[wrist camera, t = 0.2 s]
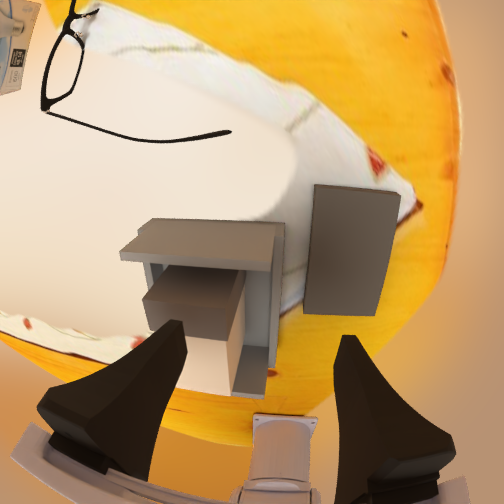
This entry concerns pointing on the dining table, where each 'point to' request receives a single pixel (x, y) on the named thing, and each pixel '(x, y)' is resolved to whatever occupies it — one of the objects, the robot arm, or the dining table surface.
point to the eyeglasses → (48, 103)
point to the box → (202, 322)
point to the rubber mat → (349, 249)
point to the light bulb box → (15, 40)
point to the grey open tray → (226, 257)
